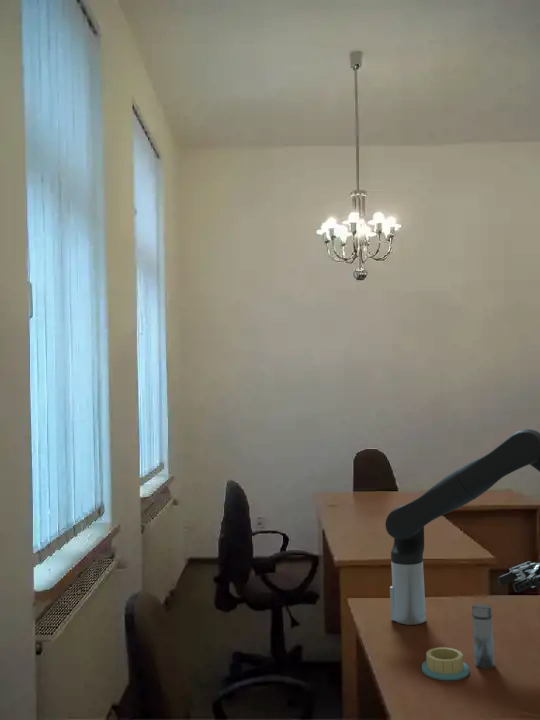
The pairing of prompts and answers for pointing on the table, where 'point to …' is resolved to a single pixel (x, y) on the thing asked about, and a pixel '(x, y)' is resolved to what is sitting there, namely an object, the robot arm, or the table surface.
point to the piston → (483, 636)
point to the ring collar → (445, 664)
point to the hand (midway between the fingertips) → (506, 585)
